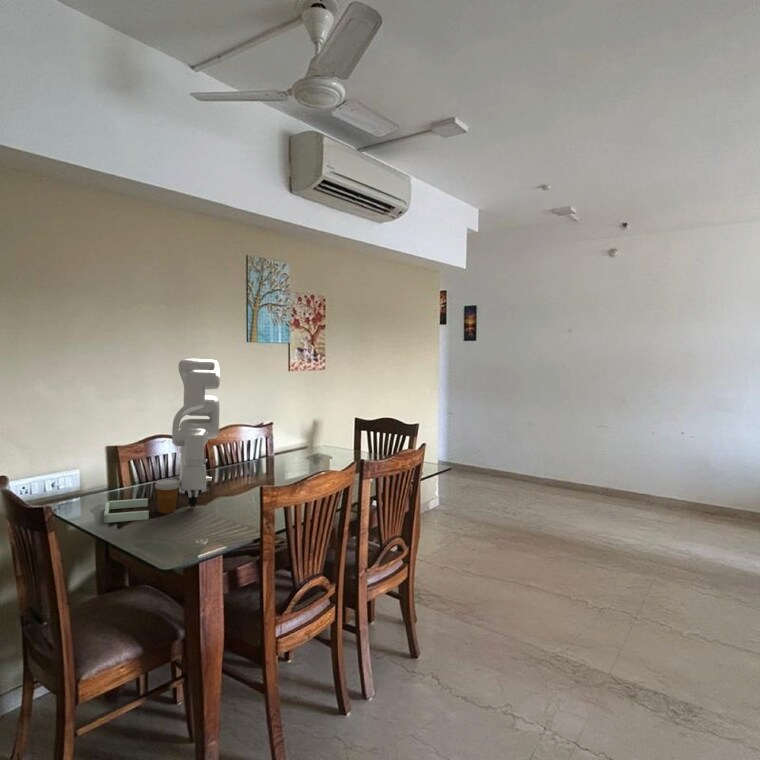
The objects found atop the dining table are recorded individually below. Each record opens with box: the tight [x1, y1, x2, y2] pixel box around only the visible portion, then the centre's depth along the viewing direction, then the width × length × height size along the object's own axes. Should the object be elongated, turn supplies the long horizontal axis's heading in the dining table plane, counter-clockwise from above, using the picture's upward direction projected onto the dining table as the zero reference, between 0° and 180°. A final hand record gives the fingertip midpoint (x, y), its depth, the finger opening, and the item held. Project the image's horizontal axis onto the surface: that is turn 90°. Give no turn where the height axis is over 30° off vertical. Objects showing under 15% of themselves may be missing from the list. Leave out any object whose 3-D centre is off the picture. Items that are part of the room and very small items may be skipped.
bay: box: [103, 498, 150, 524], centre depth 205 cm, size 15×16×3 cm
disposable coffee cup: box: [154, 478, 180, 514], centre depth 211 cm, size 10×10×12 cm
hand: (192, 505), depth 215 cm, fingers closed
